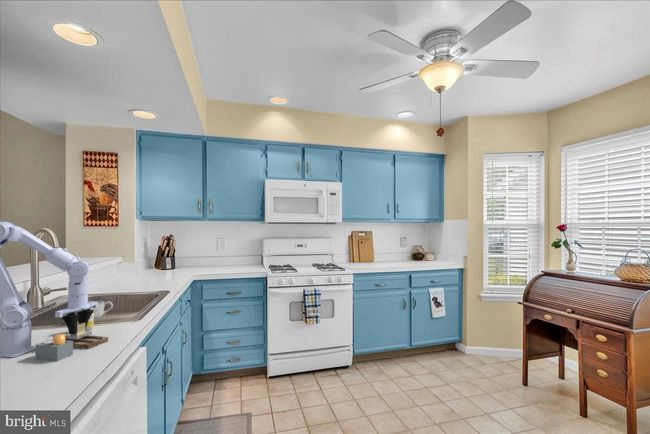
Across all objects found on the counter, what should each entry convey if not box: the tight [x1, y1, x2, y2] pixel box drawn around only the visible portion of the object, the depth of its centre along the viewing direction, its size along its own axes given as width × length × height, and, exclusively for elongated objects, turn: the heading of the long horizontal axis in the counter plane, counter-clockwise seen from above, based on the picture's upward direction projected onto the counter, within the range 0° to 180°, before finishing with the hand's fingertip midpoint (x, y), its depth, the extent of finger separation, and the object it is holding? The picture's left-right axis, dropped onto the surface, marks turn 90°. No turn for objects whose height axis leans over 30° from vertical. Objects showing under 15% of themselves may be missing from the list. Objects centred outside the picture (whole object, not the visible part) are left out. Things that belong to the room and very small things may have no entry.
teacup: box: [75, 300, 114, 321], centre depth 144 cm, size 14×11×8 cm
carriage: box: [65, 322, 93, 339], centre depth 116 cm, size 6×6×4 cm
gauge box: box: [35, 338, 74, 362], centre depth 104 cm, size 8×5×5 cm, turn 79°
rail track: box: [65, 334, 109, 350], centre depth 115 cm, size 14×8×2 cm, turn 79°
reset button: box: [52, 333, 66, 346], centre depth 103 cm, size 3×3×5 cm
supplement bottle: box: [85, 308, 95, 332], centre depth 128 cm, size 5×5×10 cm
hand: (77, 332), depth 116 cm, fingers closed on carriage, 3 cm apart
